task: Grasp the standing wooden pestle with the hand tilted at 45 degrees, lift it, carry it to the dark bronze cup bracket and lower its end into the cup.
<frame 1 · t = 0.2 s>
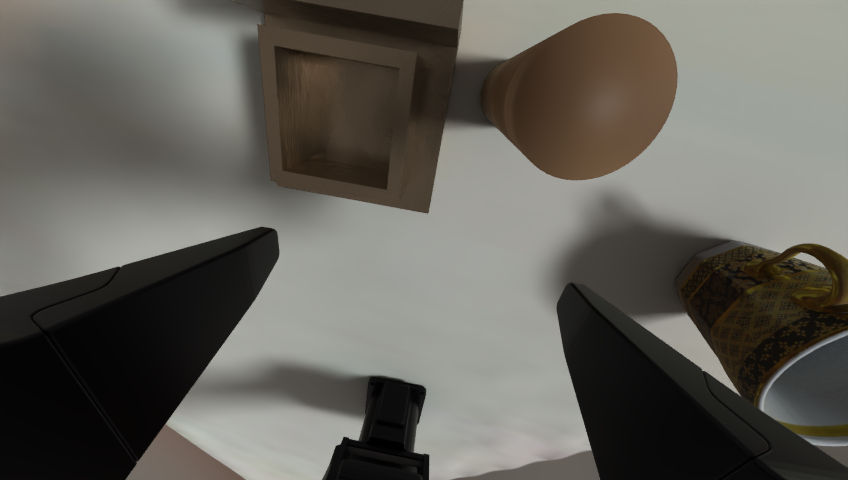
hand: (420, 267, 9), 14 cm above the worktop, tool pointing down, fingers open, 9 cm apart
cup bracket: (359, 117, 21), on the worktop
wooden pestle: (511, 95, 19), on the worktop
ceramic cup: (714, 262, 24), on the worktop
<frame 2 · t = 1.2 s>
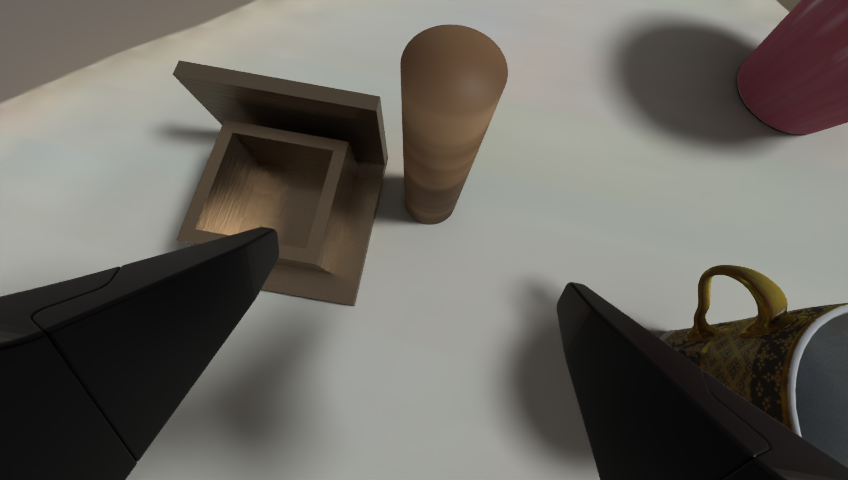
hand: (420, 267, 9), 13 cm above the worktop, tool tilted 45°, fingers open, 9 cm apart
cup bracket: (295, 213, 23), on the worktop
wooden pestle: (430, 200, 24), on the worktop
ceramic cup: (667, 361, 22), on the worktop
plant pot: (779, 94, 28), on the worktop
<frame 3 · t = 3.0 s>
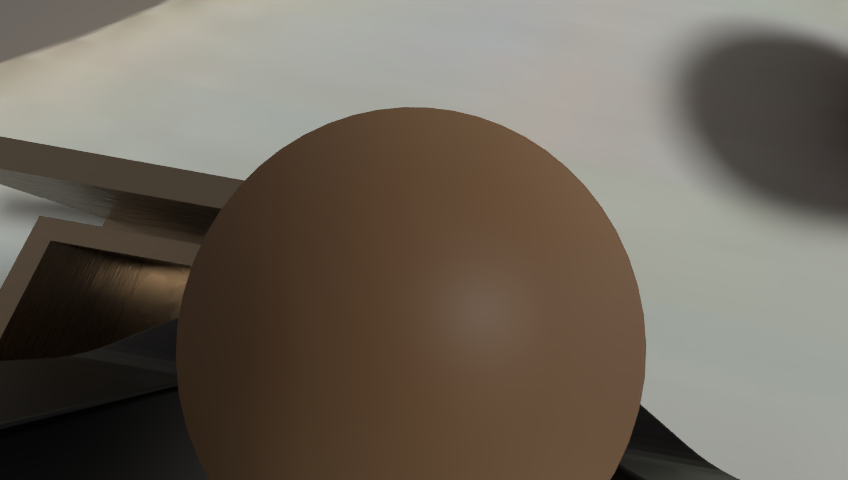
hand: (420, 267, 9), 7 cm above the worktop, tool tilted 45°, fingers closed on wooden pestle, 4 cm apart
cup bracket: (195, 341, 14), on the worktop
wooden pestle: (411, 314, 15), on the worktop, touching gripper
when the fingers open (8 cm above the worktop, at t = 6.2 s): wooden pestle stays where it is, resting on cup bracket.
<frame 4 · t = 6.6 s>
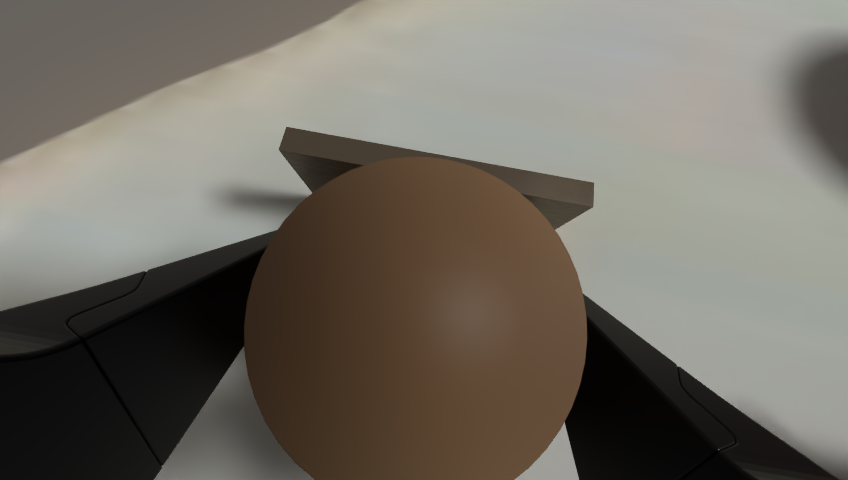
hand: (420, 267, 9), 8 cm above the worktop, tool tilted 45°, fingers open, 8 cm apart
cup bracket: (410, 314, 17), on the worktop
wooden pestle: (410, 315, 16), point 1 cm above the worktop, touching cup bracket
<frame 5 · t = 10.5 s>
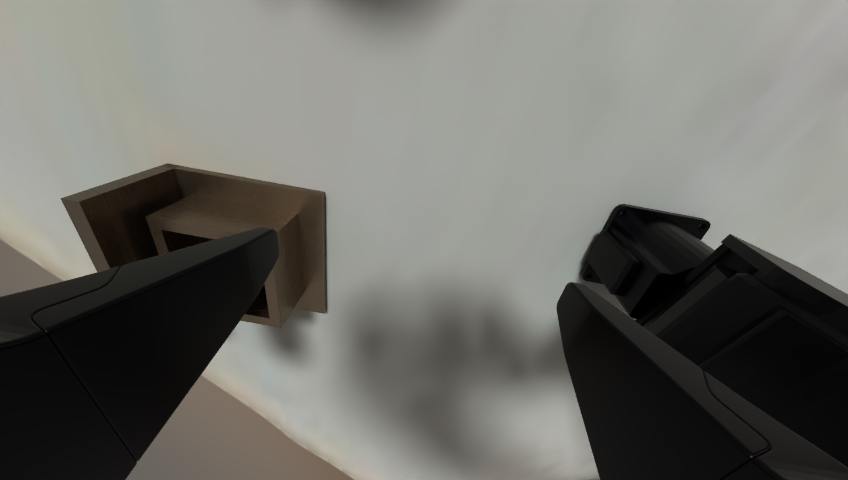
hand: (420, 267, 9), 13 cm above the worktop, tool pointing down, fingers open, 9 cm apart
cup bracket: (256, 245, 25), on the worktop
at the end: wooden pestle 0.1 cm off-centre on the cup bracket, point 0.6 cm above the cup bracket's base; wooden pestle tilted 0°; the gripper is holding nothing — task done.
